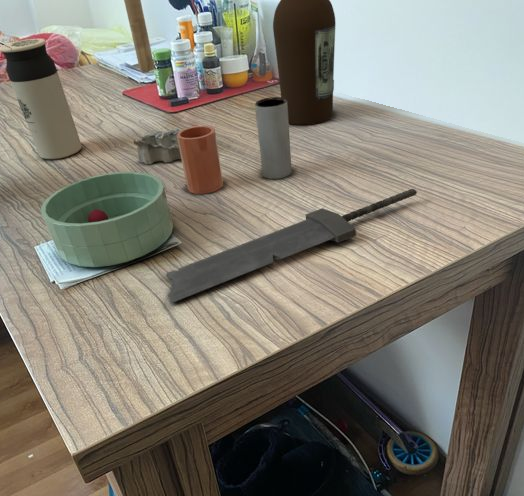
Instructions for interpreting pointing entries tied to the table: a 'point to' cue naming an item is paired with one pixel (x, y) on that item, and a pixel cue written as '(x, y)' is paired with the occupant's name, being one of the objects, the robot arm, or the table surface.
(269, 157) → the grey tube
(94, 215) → the bead
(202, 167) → the utensil pot
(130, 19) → the wooden stick
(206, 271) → the toy broadsword
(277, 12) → the olive oil
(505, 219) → the table surface
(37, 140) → the travel mug
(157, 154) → the egg carton
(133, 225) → the bowl
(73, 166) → the table surface
